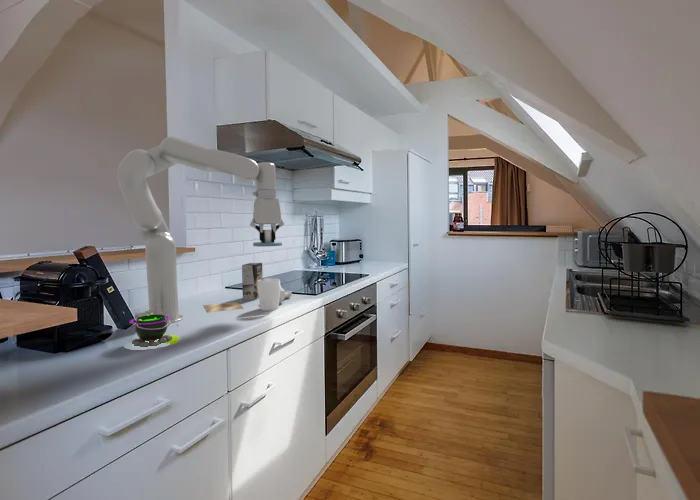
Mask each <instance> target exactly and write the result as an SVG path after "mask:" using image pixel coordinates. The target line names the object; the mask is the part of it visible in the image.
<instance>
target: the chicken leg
mask: <svg viewBox="0 0 700 500" xmlns="http://www.w3.org/2000/svg"><path fill="white" fill-rule="evenodd" d="M292 295H293V293H292V292H291V291H290V290H289V291H288V290H287V291H286V290H285V289H284V288H283V287H282V286H281V288H280V297H279V305H280V304H282V303H283V301H284V300H285V299H287V298H288V299H290V298H291V297H292Z"/></svg>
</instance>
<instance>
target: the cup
mask: <svg viewBox="0 0 700 500" xmlns="http://www.w3.org/2000/svg"><path fill="white" fill-rule="evenodd" d="M281 287H282V286H281V278H272V277H268V278H263V279H259V280H258V285H257V289H258V295H259V299H258V300H259V306H260V310H262V311H276V310H278V309H279V305H280V304H279V297H280V288H281Z"/></svg>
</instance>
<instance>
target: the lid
mask: <svg viewBox="0 0 700 500" xmlns="http://www.w3.org/2000/svg"><path fill="white" fill-rule="evenodd" d="M263 232H264V235H265V242H264V243H261V241H256V242H253V243H252V246H253V247H279V246H283V243H282V241H274V242H272V233H271V229H263Z"/></svg>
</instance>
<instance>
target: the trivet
mask: <svg viewBox="0 0 700 500" xmlns="http://www.w3.org/2000/svg"><path fill="white" fill-rule="evenodd" d="M203 308H204V309H205V311H206V313H214V312H224V311H233V310H242V309H245V308H244V306H242V304H240V302H238V301H233V302H224V303H222V302H221V303H214V304H213V303H212V304H204V305H203Z"/></svg>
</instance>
